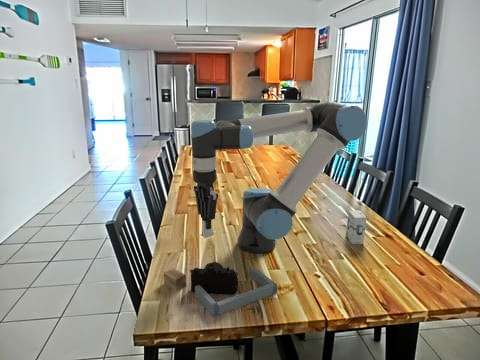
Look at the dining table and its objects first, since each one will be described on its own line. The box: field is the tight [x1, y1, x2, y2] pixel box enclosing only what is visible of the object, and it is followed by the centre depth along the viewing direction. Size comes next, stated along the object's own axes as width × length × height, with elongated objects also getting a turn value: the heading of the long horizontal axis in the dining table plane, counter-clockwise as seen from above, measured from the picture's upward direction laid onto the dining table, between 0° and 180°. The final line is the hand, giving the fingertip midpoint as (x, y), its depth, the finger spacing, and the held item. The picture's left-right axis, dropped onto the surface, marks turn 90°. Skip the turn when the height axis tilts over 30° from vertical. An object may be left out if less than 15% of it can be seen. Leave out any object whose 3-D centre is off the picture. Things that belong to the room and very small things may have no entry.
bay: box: [194, 266, 278, 317], centre depth 108 cm, size 22×12×3 cm, turn 123°
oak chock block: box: [163, 268, 187, 292], centre depth 112 cm, size 4×6×4 cm, turn 48°
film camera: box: [189, 261, 239, 296], centre depth 111 cm, size 15×10×9 cm, turn 85°
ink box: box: [345, 209, 367, 245], centre depth 146 cm, size 9×5×12 cm, turn 2°
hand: (207, 236), depth 120 cm, fingers closed
